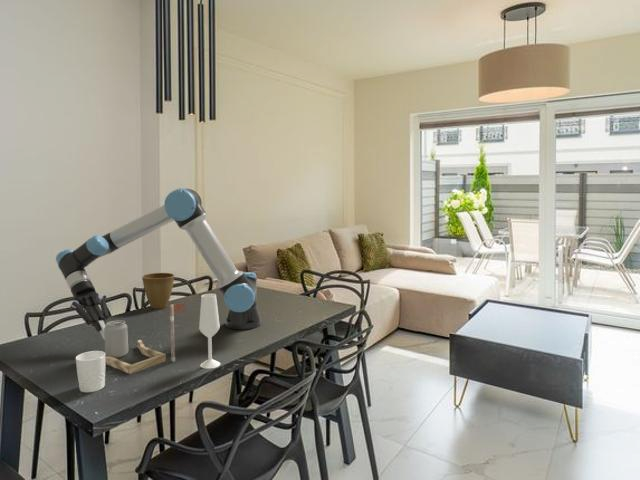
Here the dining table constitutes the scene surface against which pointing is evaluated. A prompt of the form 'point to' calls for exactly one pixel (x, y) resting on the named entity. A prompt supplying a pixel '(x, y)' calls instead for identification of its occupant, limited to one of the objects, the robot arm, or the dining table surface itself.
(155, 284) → the plant pot
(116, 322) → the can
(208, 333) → the champagne flute
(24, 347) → the dining table surface
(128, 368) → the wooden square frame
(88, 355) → the white cup
